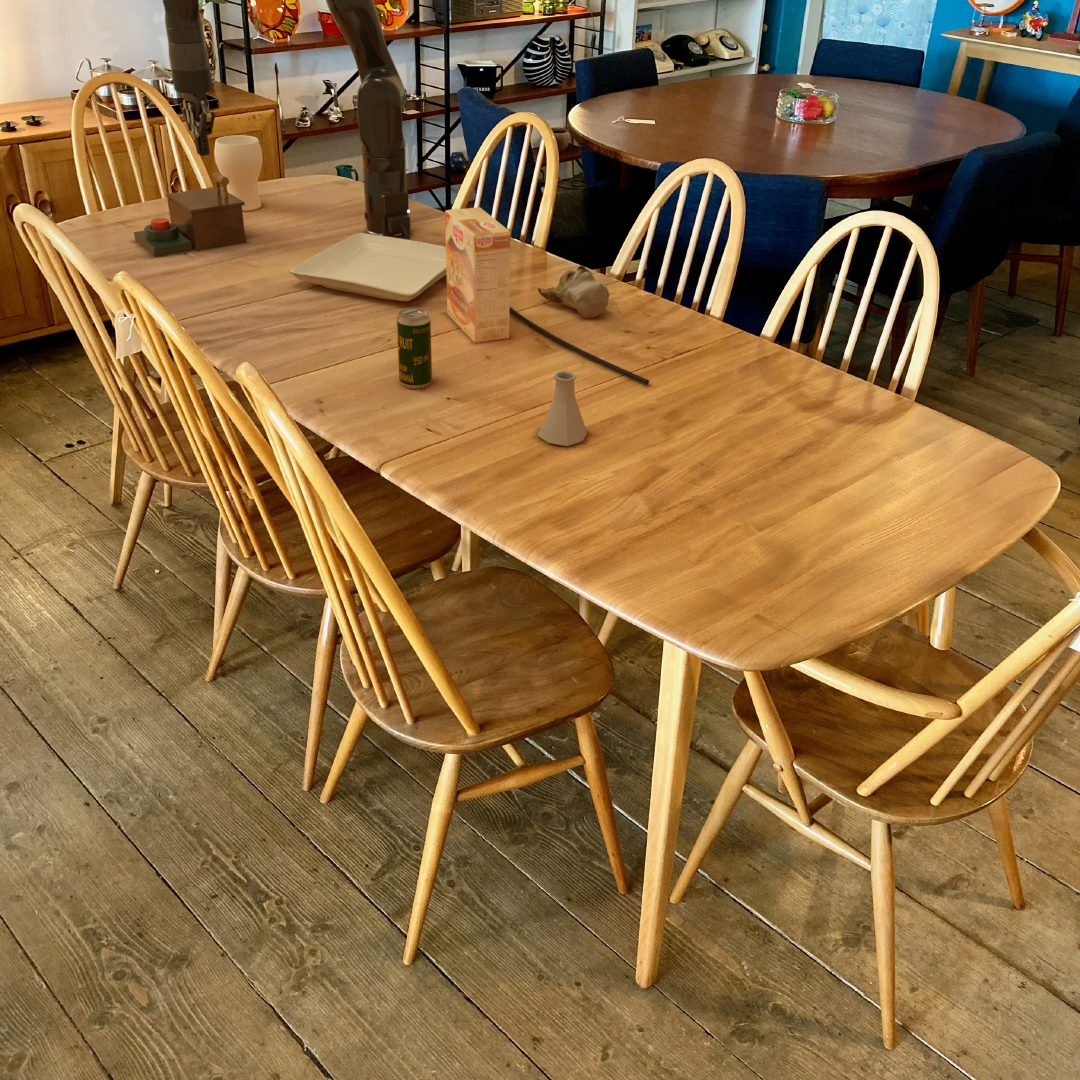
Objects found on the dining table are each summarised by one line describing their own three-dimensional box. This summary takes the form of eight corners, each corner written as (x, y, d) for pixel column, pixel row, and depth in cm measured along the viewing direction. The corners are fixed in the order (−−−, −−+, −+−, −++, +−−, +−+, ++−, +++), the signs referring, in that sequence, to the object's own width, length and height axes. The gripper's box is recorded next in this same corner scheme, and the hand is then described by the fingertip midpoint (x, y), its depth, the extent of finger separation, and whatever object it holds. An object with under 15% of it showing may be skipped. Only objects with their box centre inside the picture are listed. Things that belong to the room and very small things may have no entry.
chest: (220, 225, 247) (216, 190, 242) (246, 242, 238) (241, 206, 233) (172, 233, 241) (166, 197, 237) (196, 251, 232) (191, 213, 228)
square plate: (288, 288, 216) (286, 269, 213) (359, 248, 237) (358, 230, 235) (412, 311, 207) (411, 291, 205) (473, 267, 229) (473, 249, 227)
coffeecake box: (445, 313, 207) (443, 209, 196) (481, 309, 209) (481, 206, 199) (473, 343, 196) (472, 234, 185) (510, 338, 198) (512, 230, 187)
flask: (556, 420, 171) (558, 360, 166) (595, 433, 168) (599, 373, 163) (529, 437, 166) (530, 376, 161) (569, 451, 163) (572, 390, 158)
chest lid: (219, 189, 243) (216, 165, 240) (244, 205, 234) (242, 180, 231) (166, 197, 237) (163, 172, 234) (191, 213, 228) (187, 188, 225)
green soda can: (416, 373, 184) (413, 304, 178) (439, 382, 182) (437, 313, 175) (392, 382, 181) (389, 313, 174) (415, 392, 178) (413, 322, 172)
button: (172, 230, 232) (171, 221, 231) (155, 232, 230) (154, 224, 229) (166, 225, 234) (165, 216, 233) (149, 228, 233) (148, 219, 232)
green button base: (192, 250, 232) (190, 231, 230) (155, 257, 228) (152, 238, 226) (171, 235, 240) (169, 216, 238) (135, 241, 236) (132, 222, 234)
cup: (256, 214, 254) (248, 147, 246) (213, 210, 256) (204, 143, 248) (274, 202, 263) (268, 136, 255) (233, 198, 265) (225, 133, 257)
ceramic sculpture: (577, 279, 199) (534, 259, 210) (576, 326, 203) (534, 304, 214) (626, 271, 204) (581, 252, 215) (623, 317, 208) (580, 296, 219)
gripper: (221, 68, 218) (233, 158, 227) (195, 58, 227) (208, 145, 236) (184, 72, 214) (199, 164, 224) (159, 62, 223) (174, 150, 232)
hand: (203, 154), depth 230 cm, fingers closed
